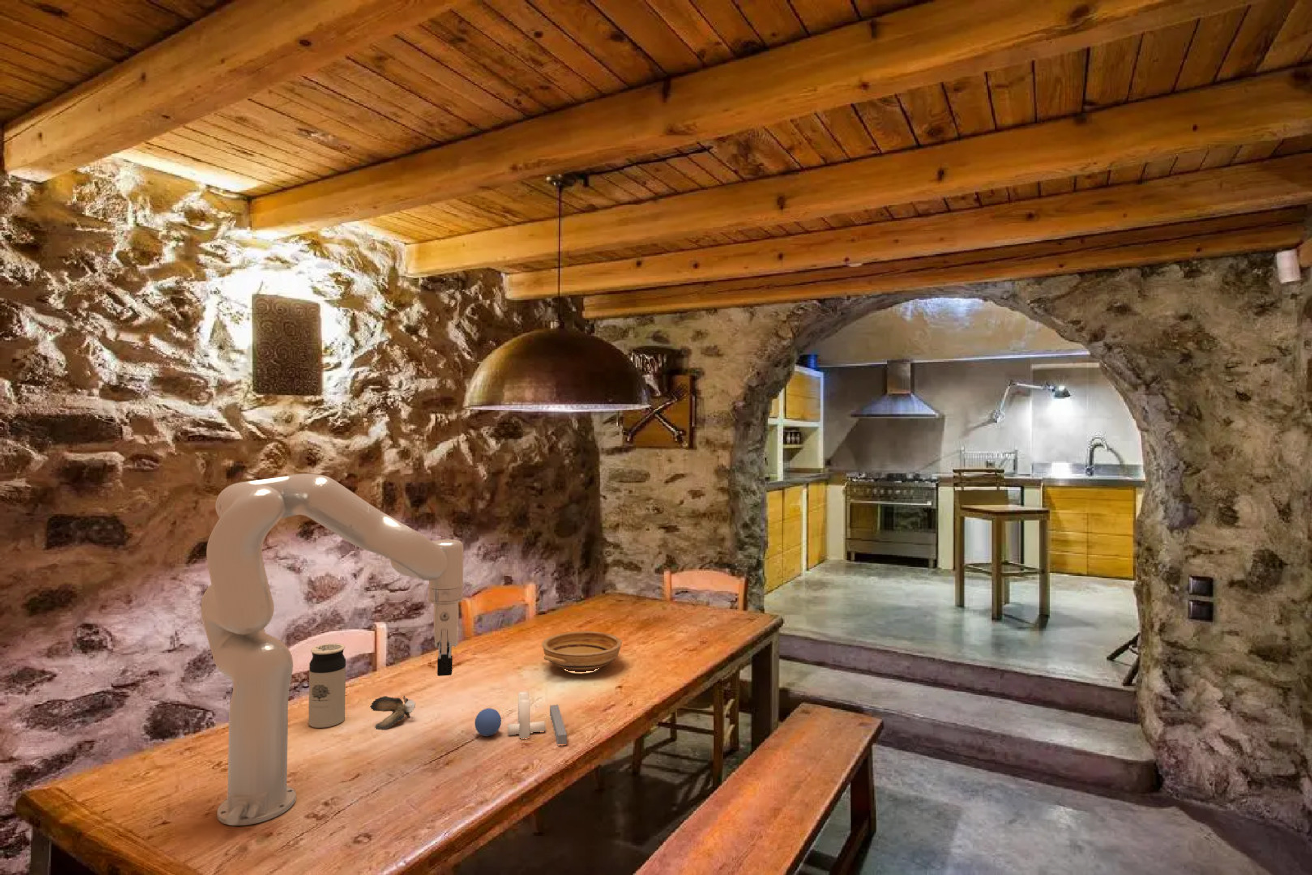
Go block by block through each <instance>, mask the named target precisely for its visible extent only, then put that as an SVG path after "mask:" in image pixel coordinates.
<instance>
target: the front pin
mask: <svg viewBox="0 0 1312 875" xmlns="http://www.w3.org/2000/svg"><path fill="white" fill-rule="evenodd" d="M540 731H545V732H546V721H545V720H542V721H530V734H532V733H531V732H540ZM540 733H541V732H540ZM516 734H519V723H518V722H517V723H509V724H507V736H508V735H509V736H516Z"/></svg>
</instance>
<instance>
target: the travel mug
mask: <svg viewBox="0 0 1312 875" xmlns="http://www.w3.org/2000/svg"><path fill="white" fill-rule="evenodd" d="M345 648H346V646H345V645H344V644H341V643H325V644H320V645H317V646H313V647H312V648H311V649H310V652H311V653H312V654H311V655H312V657H311V660H310V662H309V667H308V668H309V670H308V671H309V672H308V674H309V675H308V725H309V726H310V727H312V728H316V729H323V728H331V727H334V726H337V725H339V724H341V723H342V722H344V720H346V679H347V678H346V677H347V676H346V673H347V666H346V665H347V661H346V660H347V658H346V656H344V650H345Z"/></svg>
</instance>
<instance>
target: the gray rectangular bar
mask: <svg viewBox="0 0 1312 875" xmlns="http://www.w3.org/2000/svg"><path fill="white" fill-rule="evenodd" d="M560 710H561V709H560V707H559V704H551V705H549V716H551V718H550V721H551V720H552V722H551V724H552V723H553V726H552V728H553V727H554V729H553V732H554V731H555V733H554V737H555V736H556V737H555V741H556V740H557V741H556V744H567V743H568V734H567V733H568V732H567V731H566V726H565V723H564V721H563V720H564V719H563V717H562V713H561V711H560Z"/></svg>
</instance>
